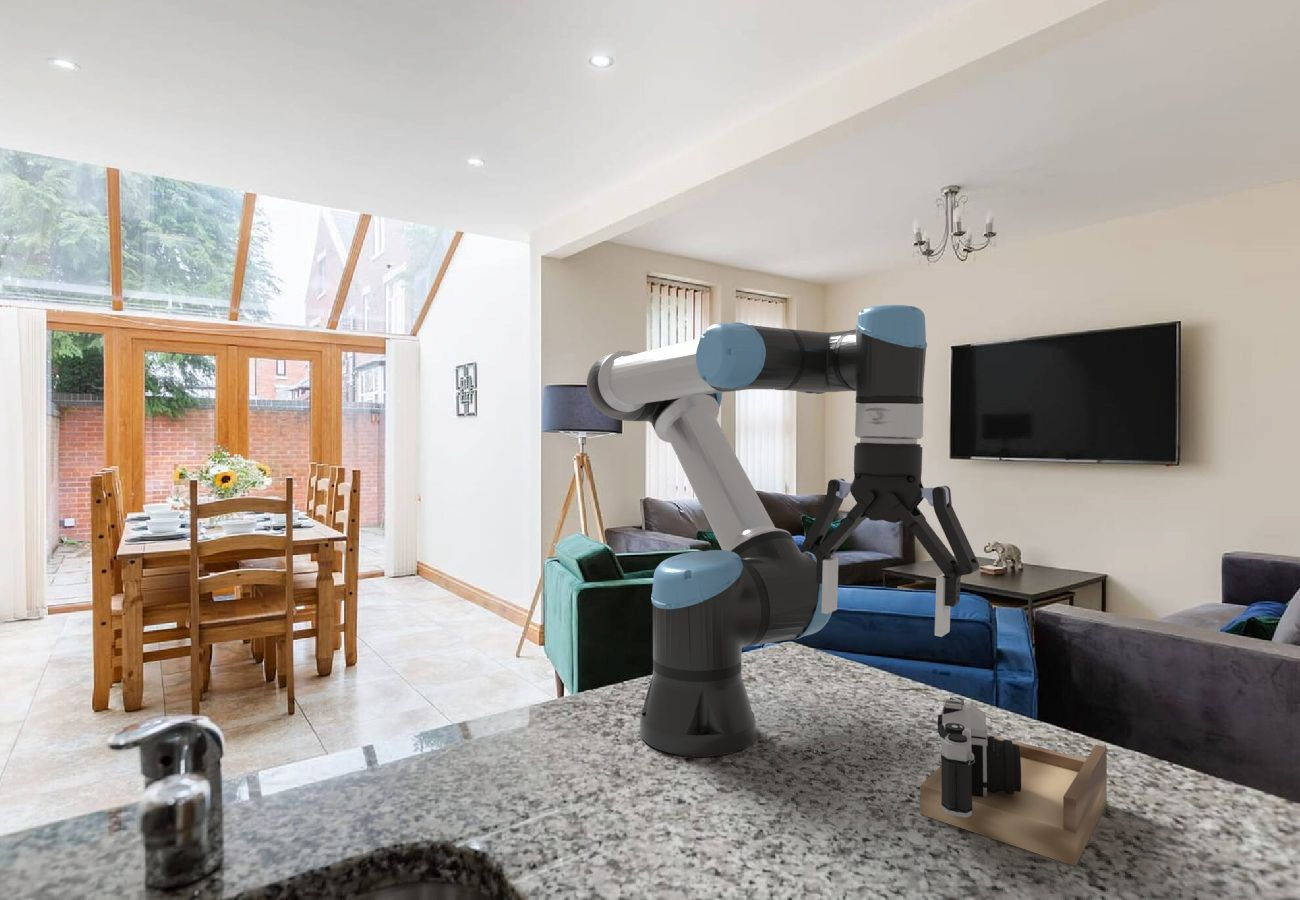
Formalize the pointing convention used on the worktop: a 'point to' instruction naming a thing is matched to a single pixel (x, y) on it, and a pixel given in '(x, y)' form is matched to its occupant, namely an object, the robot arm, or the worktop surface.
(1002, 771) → the camera
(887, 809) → the worktop surface
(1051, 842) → the wooden corner tray
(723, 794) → the worktop surface
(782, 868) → the worktop surface
